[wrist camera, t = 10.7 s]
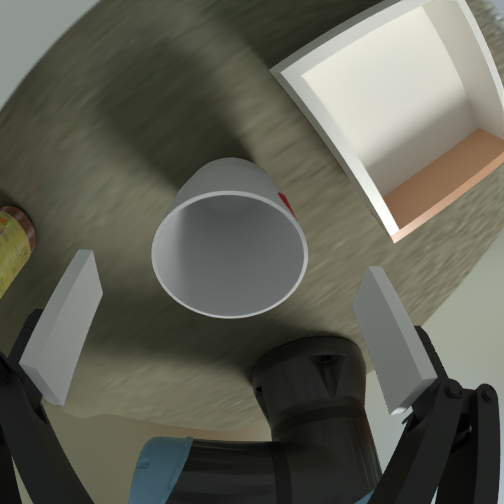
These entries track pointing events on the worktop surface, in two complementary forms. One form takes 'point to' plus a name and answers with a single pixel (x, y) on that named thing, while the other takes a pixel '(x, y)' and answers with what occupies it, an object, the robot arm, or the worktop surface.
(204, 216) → the cup
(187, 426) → the worktop surface
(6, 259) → the sauce bottle
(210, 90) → the worktop surface
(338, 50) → the white open box
